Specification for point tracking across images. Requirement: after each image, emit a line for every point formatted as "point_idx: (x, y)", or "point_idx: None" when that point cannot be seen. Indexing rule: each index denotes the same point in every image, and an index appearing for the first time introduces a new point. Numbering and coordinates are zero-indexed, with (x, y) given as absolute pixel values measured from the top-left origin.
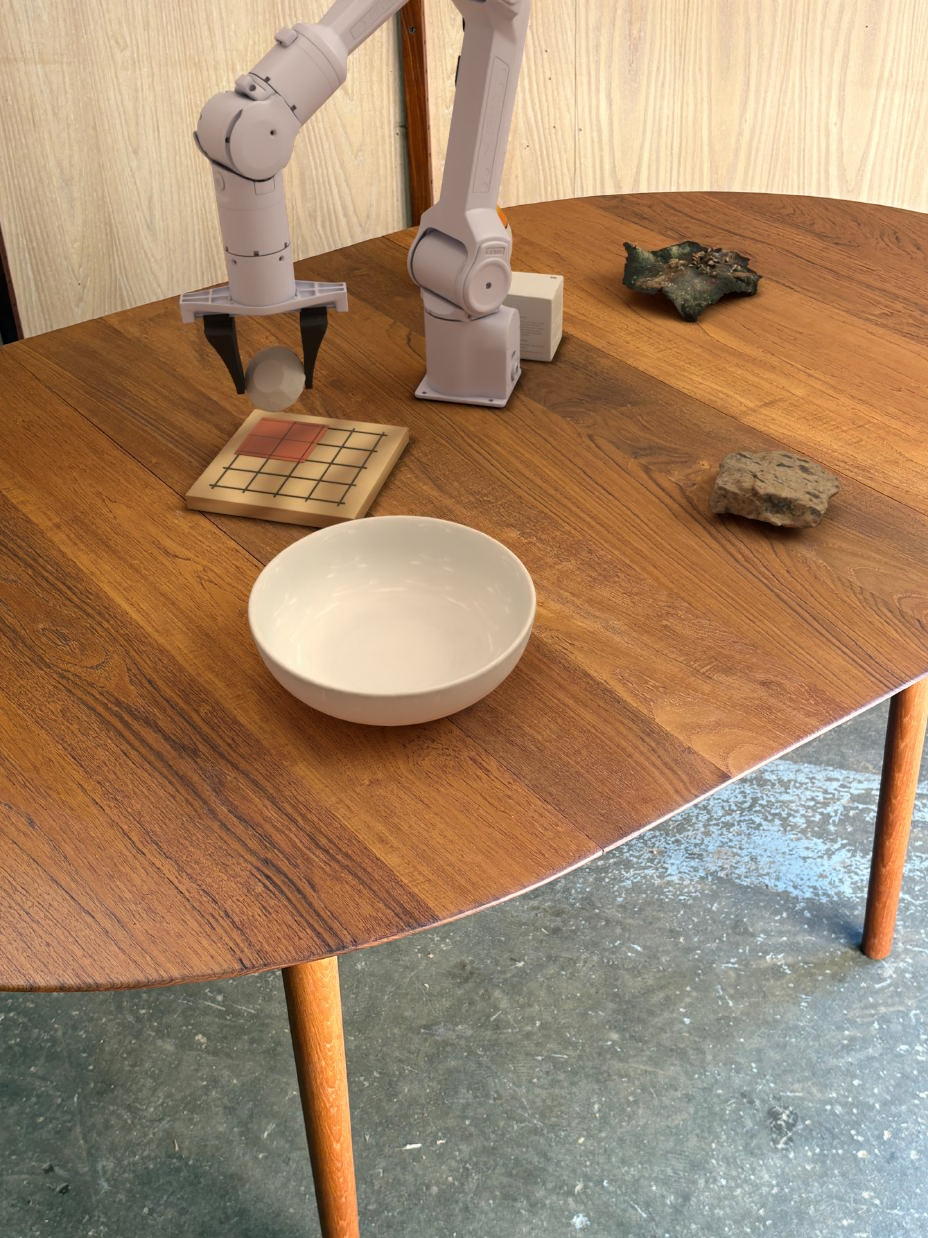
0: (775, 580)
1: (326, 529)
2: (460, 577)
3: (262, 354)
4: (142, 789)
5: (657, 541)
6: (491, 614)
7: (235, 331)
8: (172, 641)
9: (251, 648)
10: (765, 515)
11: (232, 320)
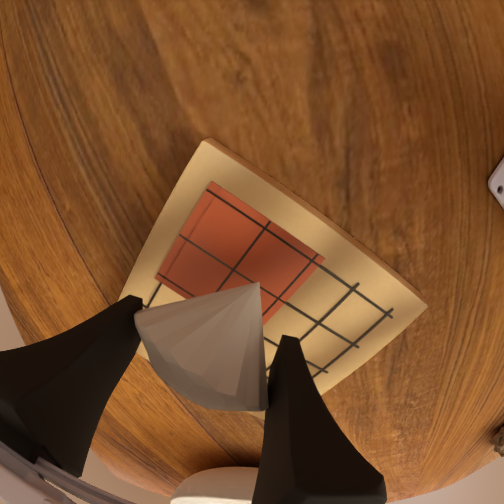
0: (463, 461)
1: (226, 499)
2: None
3: (164, 366)
4: (135, 466)
5: (455, 443)
6: None
7: (68, 390)
8: (130, 428)
9: (177, 450)
10: (495, 451)
11: (57, 456)
